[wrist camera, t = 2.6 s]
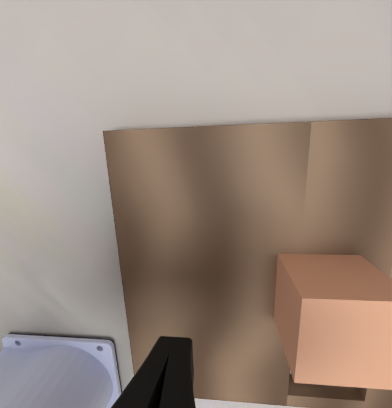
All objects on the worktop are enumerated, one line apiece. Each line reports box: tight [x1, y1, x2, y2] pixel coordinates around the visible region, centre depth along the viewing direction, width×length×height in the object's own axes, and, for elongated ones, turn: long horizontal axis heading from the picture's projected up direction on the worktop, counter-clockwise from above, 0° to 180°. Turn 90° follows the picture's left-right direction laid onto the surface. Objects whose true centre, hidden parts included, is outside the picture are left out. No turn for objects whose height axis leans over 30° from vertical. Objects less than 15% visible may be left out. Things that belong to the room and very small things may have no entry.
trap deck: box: [103, 118, 392, 408], centre depth 14 cm, size 25×19×2 cm
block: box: [274, 254, 392, 390], centre depth 11 cm, size 4×4×4 cm
